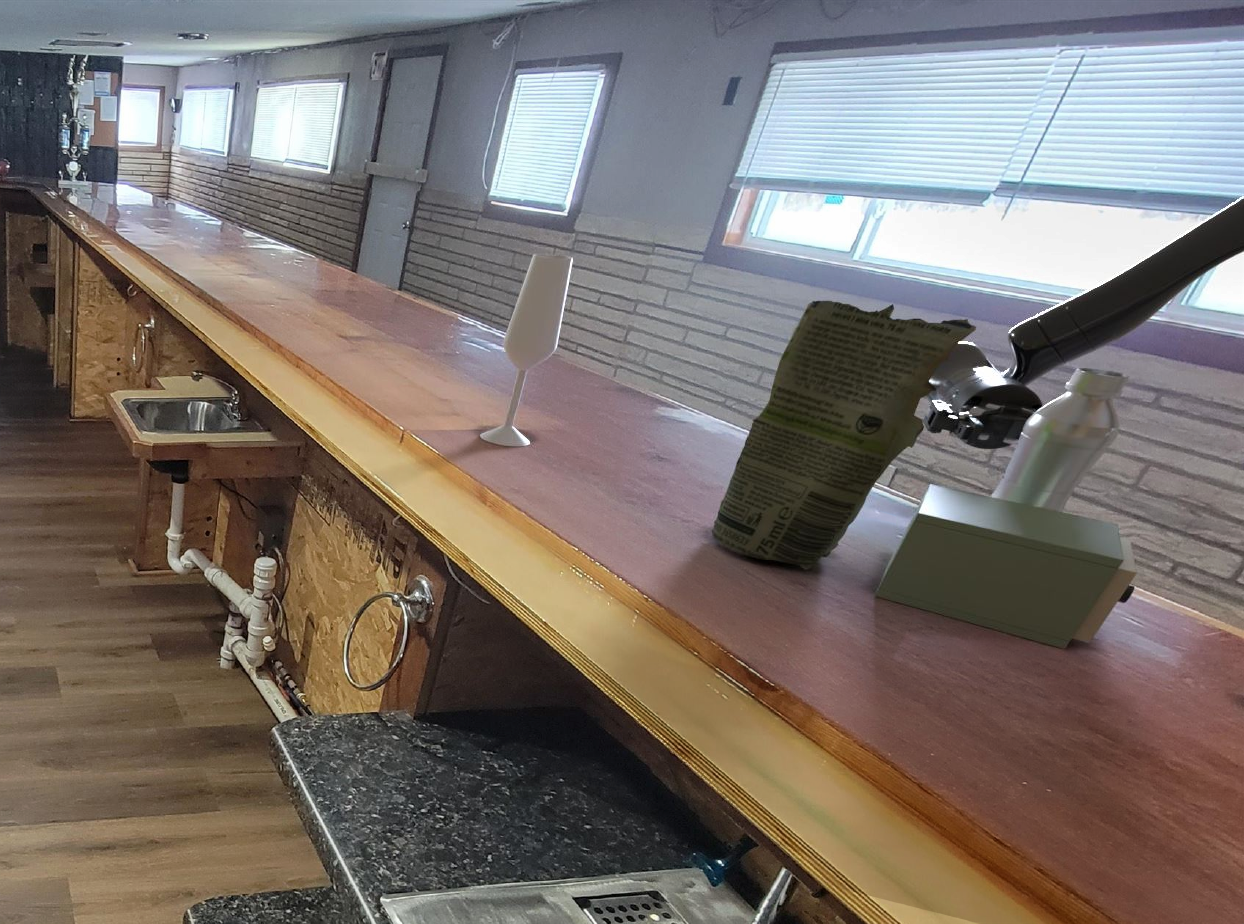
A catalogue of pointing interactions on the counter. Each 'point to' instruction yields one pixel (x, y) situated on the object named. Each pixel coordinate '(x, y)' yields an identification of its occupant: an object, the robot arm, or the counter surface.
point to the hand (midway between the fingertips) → (1025, 443)
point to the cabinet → (1002, 564)
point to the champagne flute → (533, 331)
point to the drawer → (1110, 594)
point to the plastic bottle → (1063, 441)
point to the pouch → (830, 429)
